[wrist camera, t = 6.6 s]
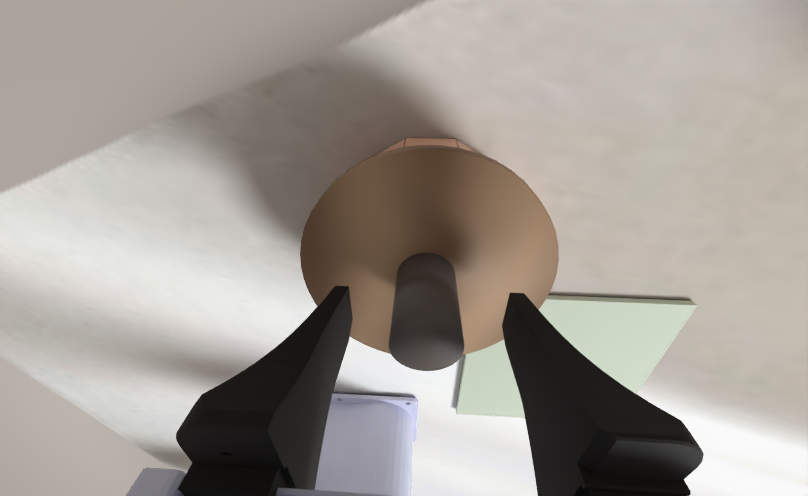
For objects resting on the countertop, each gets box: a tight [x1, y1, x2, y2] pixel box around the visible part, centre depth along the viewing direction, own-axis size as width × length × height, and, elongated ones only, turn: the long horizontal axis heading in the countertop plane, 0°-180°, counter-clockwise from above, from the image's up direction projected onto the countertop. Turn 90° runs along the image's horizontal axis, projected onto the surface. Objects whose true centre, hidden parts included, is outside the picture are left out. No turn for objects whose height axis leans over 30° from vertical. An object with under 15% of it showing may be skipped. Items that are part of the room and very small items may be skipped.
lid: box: [300, 145, 558, 371], centre depth 15 cm, size 13×13×5 cm
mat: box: [456, 295, 697, 418], centre depth 28 cm, size 16×16×1 cm
